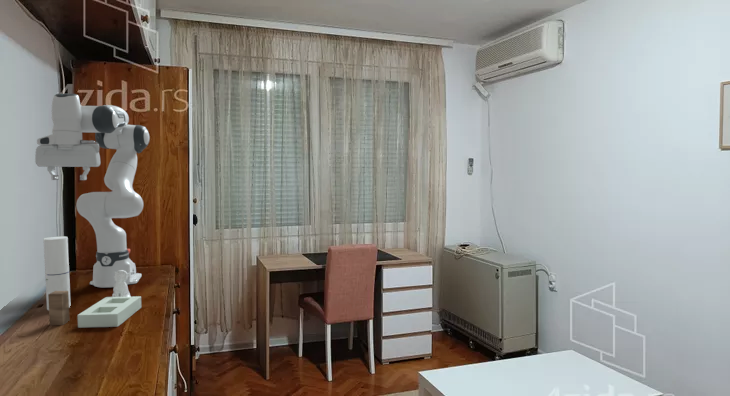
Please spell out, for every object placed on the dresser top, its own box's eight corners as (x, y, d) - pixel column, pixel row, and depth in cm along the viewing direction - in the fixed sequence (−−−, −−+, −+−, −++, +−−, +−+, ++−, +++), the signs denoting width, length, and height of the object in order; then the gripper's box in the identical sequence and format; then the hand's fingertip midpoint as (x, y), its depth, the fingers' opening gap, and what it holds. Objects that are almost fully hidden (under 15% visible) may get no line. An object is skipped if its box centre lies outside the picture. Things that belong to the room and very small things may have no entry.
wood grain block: (56, 321, 158) (55, 291, 157) (69, 320, 158) (68, 290, 157) (49, 325, 154) (48, 294, 153) (63, 324, 154) (61, 294, 153)
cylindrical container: (59, 311, 168) (55, 239, 166) (41, 310, 169) (38, 239, 167) (75, 305, 175) (72, 236, 173) (58, 304, 176) (55, 236, 174)
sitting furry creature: (103, 306, 173) (101, 273, 172) (109, 300, 182) (107, 268, 181) (132, 304, 176) (131, 272, 175) (136, 298, 184) (135, 267, 183)
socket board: (106, 308, 172) (105, 297, 171) (141, 307, 173) (141, 296, 172) (78, 327, 152) (77, 315, 151) (117, 326, 153) (117, 314, 152)
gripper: (103, 140, 172) (104, 179, 173) (42, 140, 170) (44, 179, 171) (94, 139, 166) (96, 180, 167) (31, 139, 164) (33, 180, 165)
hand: (69, 180), depth 169 cm, fingers open, 8 cm apart
